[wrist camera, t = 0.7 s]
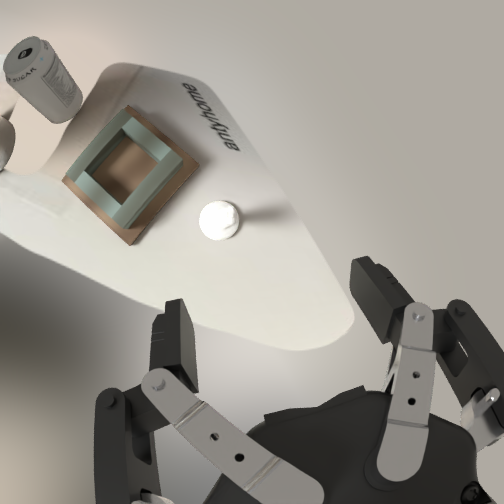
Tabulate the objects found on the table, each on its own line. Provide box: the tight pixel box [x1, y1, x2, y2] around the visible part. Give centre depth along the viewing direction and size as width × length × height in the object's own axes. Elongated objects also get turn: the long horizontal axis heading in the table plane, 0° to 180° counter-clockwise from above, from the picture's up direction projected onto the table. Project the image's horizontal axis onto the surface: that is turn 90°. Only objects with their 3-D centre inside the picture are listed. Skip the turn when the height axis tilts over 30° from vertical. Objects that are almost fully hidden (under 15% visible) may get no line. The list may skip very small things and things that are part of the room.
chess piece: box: [200, 201, 239, 240], centre depth 31 cm, size 5×5×10 cm
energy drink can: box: [3, 36, 83, 124], centre depth 23 cm, size 6×6×15 cm
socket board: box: [62, 105, 199, 246], centre depth 31 cm, size 13×13×4 cm
